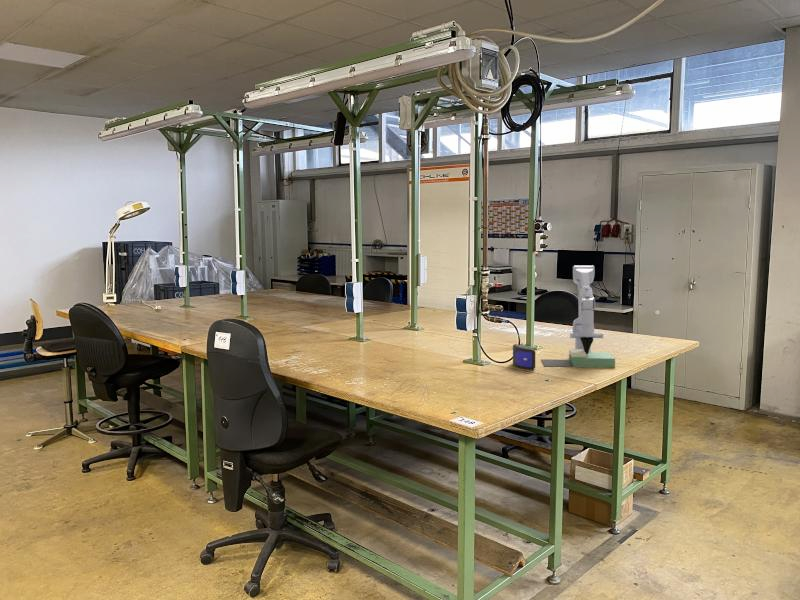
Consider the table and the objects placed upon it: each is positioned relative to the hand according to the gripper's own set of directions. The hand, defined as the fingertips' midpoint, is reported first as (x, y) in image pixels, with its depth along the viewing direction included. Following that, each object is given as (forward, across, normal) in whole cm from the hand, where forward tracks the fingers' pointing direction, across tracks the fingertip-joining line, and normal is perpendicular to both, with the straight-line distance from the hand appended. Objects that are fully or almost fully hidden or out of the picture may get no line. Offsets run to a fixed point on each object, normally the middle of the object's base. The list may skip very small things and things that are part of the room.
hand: (586, 353), depth 281 cm
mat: (+5, -13, 0) cm, 14 cm away
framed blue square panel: (+5, -29, -8) cm, 30 cm away
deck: (+5, +2, 0) cm, 5 cm away
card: (+1, -4, 0) cm, 4 cm away
